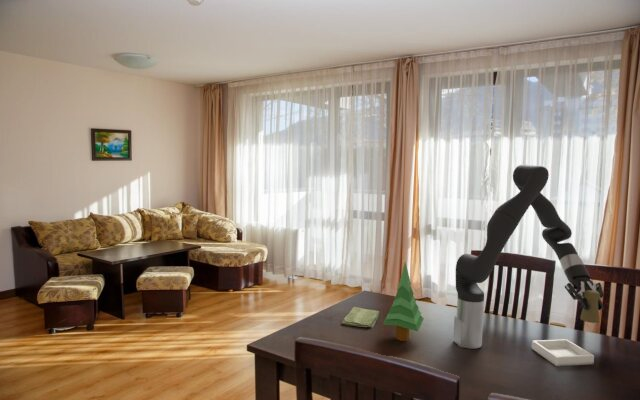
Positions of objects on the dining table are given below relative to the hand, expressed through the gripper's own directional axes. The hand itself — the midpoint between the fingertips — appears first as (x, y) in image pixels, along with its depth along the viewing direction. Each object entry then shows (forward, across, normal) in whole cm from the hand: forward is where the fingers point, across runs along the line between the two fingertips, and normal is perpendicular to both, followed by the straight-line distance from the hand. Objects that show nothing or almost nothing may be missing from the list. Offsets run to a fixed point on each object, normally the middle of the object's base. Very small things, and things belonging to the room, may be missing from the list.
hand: (594, 309), depth 160 cm
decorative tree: (0, -67, +21) cm, 70 cm away
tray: (+14, -16, +7) cm, 22 cm away
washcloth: (-13, -78, +36) cm, 87 cm away
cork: (+2, 0, +5) cm, 5 cm away
